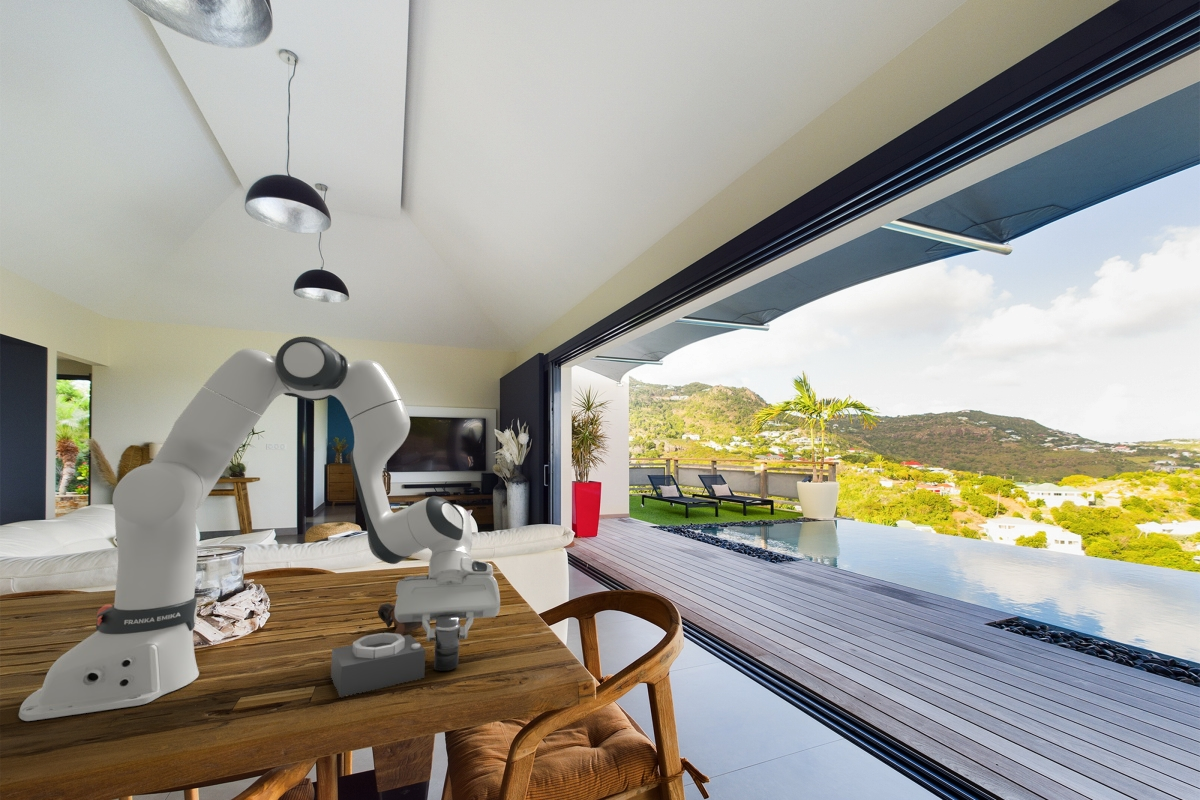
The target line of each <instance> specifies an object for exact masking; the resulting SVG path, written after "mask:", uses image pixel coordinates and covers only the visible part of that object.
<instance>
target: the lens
mask: <svg viewBox="0 0 1200 800" xmlns="http://www.w3.org/2000/svg"><path fill="white" fill-rule="evenodd" d="M434 626H435V627H434V628H435V641H434V662H433V663H434V664H433V665H434V666H433V668H434V670H436V671H440V672H443V671H444V672H447V671H452V670H455V669H457V667H458V666H459V653H460V652H459V651H460V639H459V636H460V627H461V619H460V616H459V615H457V614H444V615H440V616H438V617H436V620H435V625H434Z"/></svg>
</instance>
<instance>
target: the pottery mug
mask: <svg viewBox="0 0 1200 800" xmlns="http://www.w3.org/2000/svg"><path fill="white" fill-rule="evenodd" d="M377 614H378V616H379V619H380V620H381V621H382V622H384V623H385V624H386V627H387V628H391V626H392V625H393V627H394V628H395V631H394V633H395V634H401V635H402V636H404V634H407V633H411V632H413V631H416V630H417V629H421V628H422V621H418V622H402V623H399V622H398V621H397V620H396V619H395V605H393V604H391V603H383V604H382V605H380V606H379V608H378V609H377ZM396 626H397V627H396Z"/></svg>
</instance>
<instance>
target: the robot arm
mask: <svg viewBox="0 0 1200 800" xmlns="http://www.w3.org/2000/svg"><path fill="white" fill-rule="evenodd" d="M282 394H283V395H285V396H287V397H294V398H297V399H302V400H306V401H316V402H317V401H323V400H326V399H329V398H330V397H335V398H336V399H337V400H338V401H339V402H340V403H341V405H342V406H343V408H344V410H345V412H346V414H347V417H348V419H349V422H350V423H351V426H352V431H353V437H354V438H353V440H354V443H353V449H352V450H351V452H350V456H349V457H350V458H349V460H350V466H351V471H352V474H353V475H352V476H353V479H354V483H355V487H356V489H357V490H356V491H357V494H358V498H359V502H360V505H361V508H362V509H361V510H362V512H363V515H364V516H363V517H364V519H365V524H366V530H367V531H366V533H367V541H368V542H367V543H368V546H369V550H370V552H371V553H372V554H373V556H374V557H375V558H377V559H378V560H380V561H382V562H384V563H387V564H391V565H396V564H398V563H400V562H402V561H404V560H406V559H407V558H409V557H411V556H412V555H414V554H417V553H419V552H421V551H424V550H426V549H429V550H430V551H431V556H430V559H429V563H428V575H426V574H425V575H424V574H423V575H416V576H415V575H413V576H412V575H407V576H405V577H404V578H402V579H399V580H398V582H397V583H396V587H395V594H396V596H397V597H396V601H395V605H394V606H395V619H396V620H397V621H398V622H399V623H402V622H418V621H422V625H421V627H423V629H424V631H425V633H426V642H435V635H436V630H435V627H434V628H433V627H432V628H431V626H430V625H431V621H436V617H438V616H440V615H444V614H457V615H459V616H460V620H462V619H464V620H465V624H464V626H460V628H459V640H467V639H468V631H469V630H470V628H471V626H472V625H473V624H474V619H481V618H496V616H497V615H498V614H499V613H500V609H501V598H500V597H501V596H500V589H499V585H498V581H497V579H496V578H495V577H494V569H493V565H492V563H489V562H485V561H479V560H476V559H473V558H472V555H471V550H472V547H473V532H472V531H473V530H472V523H471V519H470V515H469V513H468V511H467V509H465V508H464V507H462V506H461V505H459V504H453V503H451V502H450V501H448V500H447V499H445V498H443V497H440V496H436V495H432V496H430V497H429V496H428V497H427V498H425V499H423V500H419V501H418V502H415V503H413V504H411V505H409V506H407V507H405V508H403V509H400V510H397V511H396V512H394V511H392V509H391V506H390V505H391V504H390V502H389V498H388V495H387V491H386V487H385V484H384V480H383V471H384V468H385V465H386V464H387V462H388V460H390V458H391V457H392V456H393V455H394V454H395V453H396V452H397V451H398V450H399V448H400V447H401V446H402V445H403V444H404V442H405V441H406V439H407V437H408V435H409V433H410V429H411V420H410V419H411V418H410V416H409V412H408V410H407V407H406V405H405V403H404V400H403V399H402V397H401V395H400V393H399V390H398V389H397V387H396V384H395V383H394V382H393V380H392V378H391V377H390V376H389V374H388V373H387V371H386V370H385V368H384V367H383V365H382V364H381V363H379V362H377V361H376V360H372V359H359V360H356V361H352V362H348V359H347V357H346V356H345V355H343V354H342V353H340V351H337V350H336V349H335V348H333V347H332V346H331V345H330V344H328V343H326V342H325V341H323V340H320V339H319V338H316V337H313V336H304V335H303V336H297V337H293V338H290V339H289V340H288V341H287V340H286V341H285V342H284V343H283V344H282V345H281V346H280V347H279V349H278V351H277V353H276V355H272V354H269V353H268V352H265V351H263V350H260V349H255V348H243V349H240V350H238V351H236V352H235V353H234V354H233V355H231V356H230V357H229V358H228V359H226V361H225V362H223V363H222V364H221V365H220V366H219V367H218V368H217V369H216V370H215V371H214V373H212V374H211V376H210V377H209V378H208V379H207V380H206V382H204V384H203V385H202V386H201V388H200V389H199V391H198V392H197V393H196V394H195V396H194V397H193V398H192V400H191V401H190V402H189V403H188V405H187V406H186V407H185V409H184V410H183V411H182V413H181V414H180V415H179V416H178V417H177V419H176V420H175V422H174V423H173V426H172V428H171V431H170V432H169V434H168V436H167V437H166V439H165V441H164V442H163V443H162V446H161V447H160V448H159V450H158V452H157V454H156V455H155V457H154V458H153V459H152V461H151V462H150V463H146V464H142V465H140V466H137V467H135V468H133V469H132V470H130V471H129V472H127V473H126V474H125V475H124V476H123V477H122V478H121V479H120V480H119V482H118V483H117V485H116V487H115V488H114V491H113V493H112V505H113V509H114V523H115V525H114V526H115V527H114V528H115V537H116V538H115V539H116V545H117V572H116V573H117V574H116V582H115V592H114V593H115V594H114V604H113V605H112V604H105V605H102V606H101V608H99V609H98V611H97V614H96V615H97V617H96V623H95V630H96V631H95V632H93V633H92V634H91V635H89V636H88V637H86V638H84V640H82V641H81V642H79V643H78V644H77V645H75V646H73V647H72V648H71V649H69V650H68V651H67V652H65V653H63V654H61V656H60V657H58V659H57V660H55V661H54V663H53V664H52V665H51V666H50V668H49V670H48V671H47V673H46V676H45V678H44V681H43V683H42V687H41V688H39V689H37V690H35V691H34V692H33V693H31V694H30V695H28V697H26V699H24V701H23V702H22V704H21V705H20V707H19V711H18V718H19V719H21V720H22V721H25V722H30V721H32V722H33V721H37V720H45V719H46V720H47V719H54V718H60V717H66V716H72V715H73V716H74V715H81V714H86V713H87V714H88V713H94V712H102V711H108V710H114V709H115V710H116V709H121V708H129V707H136V706H141V705H145V704H149V703H150V702H153V701H154V700H156V699H158V698H160V697H162V696H164V695H166V694H169V693H172V692H174V691H176V690H179V689H181V688H184V687H185V686H187V685H189V684H191V683H193V682H194V681H195V680H197V679H198V677H199V675H200V671H199V668H198V664H197V661H196V655H195V645H194V629H195V626H196V624H197V615H198V600H197V599H198V597H197V596H196V595H195V592H196V581H197V580H196V579H197V566H198V555H199V554H198V546H197V525H196V523H197V516H196V515H197V510H198V509H199V508H200V507H201V506H202V505H203V503H204V501H206V499H207V497H208V496H209V494H210V493H211V492H212V490H213V489H214V487H215V486H216V484H217V482H218V481H219V480H220V478H221V477H222V475H223V473H224V472H225V470H226V468H227V467H228V465H229V464H230V462H232V461H231V460H232V459H233V458H234V456H235V454H236V452H237V451H238V450H239V448H240V446H241V445H242V444H243V442H244V441H245V440H246V439H247V437H248V436H249V434H251V432H252V430H253V429H254V428H255V426H256V425H257V423H258V422H259V420H260V419H261V418H262V416H263V415H264V414H265V412H266V411H267V409H268V407H269V406H270V405H271V403H272V402H274V400H275V399H277V398H278V397H279V396H280V395H282Z"/></svg>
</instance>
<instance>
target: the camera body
mask: <svg viewBox="0 0 1200 800" xmlns="http://www.w3.org/2000/svg"><path fill="white" fill-rule="evenodd" d="M425 664H426V649H425V648H424V647H423V646H422V645H421V643H420V642H418V641H417V640H416V639H415V638H414V637H413V636H412V635H411V634H406V635H401V634H395V632H394V633H392V632H384V633H383V632H381V633H374V634H373V633H372V634H369V635H368V634H367V635H364V636H361V637H360V638H358V639H356V640H354V641H353V642H352V644H351V645H345V646H341V647H340V646H339V647H334V648H331V668H330V679H331V678H332V679H331V680H333V681H332V683H333V685H334V687H336V688H335V690H336V689H337V690H336V692H337V691H338V692H337V694H338V696H339V698H340V697H341V698H344V697H343V696H346V695H350V696H352V695H351V694H354V695H357V694H356V693H359V694H362V692H363V693H366V691H367V692H371V690H372V691H375V689H376V690H379V689H384V688H383V687H385V688H388V687H387V686H389V687H392V686H391V685H393V686H396V685H395V684H398V685H400V684H399V683H402V684H404V683H403V682H406V683H409V682H408V681H411V682H413V681H412V680H415V681H417V680H416V679H419V680H421V679H420V678H424V679H425V671H426V670H425V668H426V666H425ZM346 697H347V696H346Z"/></svg>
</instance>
